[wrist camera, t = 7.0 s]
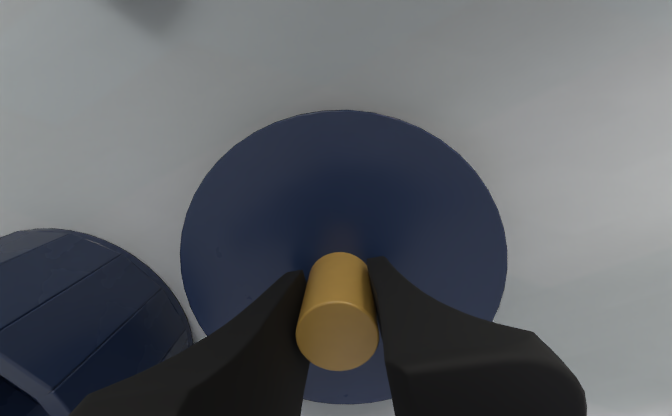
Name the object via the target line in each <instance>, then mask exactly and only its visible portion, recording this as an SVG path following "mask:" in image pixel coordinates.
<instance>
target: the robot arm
mask: <svg viewBox="0 0 672 416" xmlns="http://www.w3.org/2000/svg"><path fill="white" fill-rule="evenodd" d="M367 268H368V274H369V279H370V284H371V289H372V293H373V297H374V301H375V306H376V313H377V319H378V324H379V329H380V333H381V337H382V341H383V347H384V360H385V366H386V371H387V376H388V381H389V386H390V391H391V396H392V401H393V406H394V411H395V416H587V405H586V398H585V392H584V390H583V388H582V386H581V385H580V383H579V381H578V379H577V378H576V376H575V375H574V374H573V373H572V372H571V371H570V369H569V368H568V367H567V366H566V365H565V364H564V362H563V361H562V360H561V359H560V358H559V357H558V356H557V355H556V354H555V353H554V352H553V351H552V350H551V349H550V348H549V347H548V346H547V345H546V344H545V343H544V342H543V341H542V340H541V339H540V338H539V337H538V336H537V335H536V334H535V333H534V332H531V331H527V330H522V329H518V328H514V327H509V326H505V325H501V324H497V323H493V322H490V321H487V320H484V319H481V318H478V317H474V316H472V315H469V314H466V313H464V312H461V311H459V310H457V309H454V308H452V307H450V306H448V305H446V304H444V303H442V302H440V301H438V300H436V299H434V298H432V297H431V296H429V295H427V294H426V293H424V292H423V291H421V290H420V289H419V288H417V287H416V286H415V285H413V284H412V283H411V282H410V281H408V280H407V279H406V278H405V277H404V276H403V275H402V274H400V273H399V272H398V271H397V270H396V269H395V268H394V266H393V265H392V264H391V263H390V262H389V261H388V259H387V258H386V257H384V256H379V257H374V258H368V259H367ZM306 286H307V283H306V280H305V276H304V272H303V270H297V271H291V272H287V273H285V274H284V275H283V276H281V277H280V278H279V279H278V280H277V281H276V282H275V283H273V284H272V285H271V286H270V287H269V288H268V289H267V290H266V291H265V292H264V293H263V294H261V295H260V296H259V297H258V298H257V299H256V300H255V301H254V302H252V303H251V304H250V305H249V306H248V307H246V308H245V309H244V310H243V311H242V312H240V313H239V314H238V315H237V316H235V317H234V318H233V319H232V320H230V321H229V322H227V323H226V324H225V325H223V326H222V327H220V328H219V329H218V330H216V331H215V332H213V333H212V334H210V335H209V336H207V337H205V338H204V339H202V340H200V341H199V342H197V343H195V344H194V345H192V346H190V347H189V348H187V349H185V350H184V351H182V352H180V353H178V354H176V355H175V356H173V357H171V358H169V359H167V360H165V361H163V362H161V363H159V364H157V365H155V366H153V367H151V368H149V369H147V370H145V371H142V372H140V373H138V374H136V375H134V376H131V377H129V378H126V379H124V380H122V381H119V382H117V383H114V384H112V385H110V386H107V387H105V388H102V389H100V390H97V391H95V392H92V393H90V394H88V395H87V396H86V397H85V398H84V399H83V400H82V401H81V402H80V403H79V404H78V405H77V407H76V408H75V409H74V410H73V411H72V412H71V413H70V414H69V415H68V416H300V414H301V407H302V401H303V395H304V390H305V385H306V380H307V375H308V370H309V364H310V361H309V360H307V359H306V358H305V357H304V355H303V354H302V353H301V351H300V349H299V347H298V345H297V342H296V335H295V333H296V326H297V322H298V318H299V314H300V310H301V306H302V302H303V298H304V294H305V290H306Z"/></svg>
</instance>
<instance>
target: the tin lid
mask: <svg viewBox="0 0 672 416" xmlns="http://www.w3.org/2000/svg"><path fill="white" fill-rule="evenodd" d="M379 256H384V257H386V258H387V259H388V261H389V262H390V263H391V264H392V265H393V266H394V268H395V269H396V270H397V271H398V272H399V273H400V274H402V275H403V276H404V277H405V278H406V279H407V280H408V281H410V282H411V283H412V284H413V285H415V286H416V287H417V288H419V289H420V290H421V291H423V292H424V293H426V294H427V295H429V296H431V297H432V298H434V299H436V300H438V301H440V302H442V303H444V304H446V305H448V306H450V307H452V308H454V309H457V310H459V311H461V312H464V313H466V314H469V315H472V316H474V317H478V318H481V319H484V320H487V321H490V322H492V321H493V318H494V316H495V314H496V312H497V310H498V308H499V305H500V301H501V298H502V295H503V291H504V287H505V280H506V274H507V245H506V239H505V233H504V227H503V224H502V221H501V218H500V215H499V212H498V209H497V207H496V205H495V203H494V201H493V198H492V196H491V194H490V192H489V190H488V189H487V187H486V186H485V184H484V183H483V182H482V180H481V179H480V177H479V176H478V174H477V173H476V171H475V170H474V169H473V168H472V167H471V166H470V165H469V164H468V163H467V162H466V161H465V160H464V159H463V158H462V157H461V156H460V154H458V153H457V152H456V151H454V150H453V149H452V148H451V147H449V146H448V145H447V144H446V143H444V142H443V141H442V140H440V139H439V138H437V137H435V136H433V135H432V134H430V133H428V132H426V131H425V130H423V129H421V128H419V127H417V126H414V125H412V124H409V123H407V122H404V121H402V120H400V119H397V118H393V117H389V116H385V115H381V114H377V113H373V112H364V111H354V110H326V111H318V112H312V113H306V114H300V115H296V116H293V117H290V118H287V119H284V120H281V121H277V122H275V123H273V124H271V125H268V126H266V127H264V128H262V129H260V130H258V131H256V132H254V133H253V134H251V135H250V136H248V137H247V138H245V139H244V140H242V141H241V142H239V143H238V144H236V145H235V146H234V147H233V148H231V149H230V150H229V151H228V152H227V153H226V154H225V155H224V156H223V157H222V158H220V159H219V160H218V162H217V163H216V164H215V165H214V166H213V168H212V169H211V170H210V171H209V172H208V174H207V175H206V176H205V178H204V179H203V181H202V183H201V184H200V186H199V188H198V189H197V191H196V193H195V194H194V197H193V199H192V201H191V204H190V206H189V209H188V211H187V214H186V218H185V222H184V226H183V230H182V236H181V247H180V263H181V274H182V279H183V284H184V289H185V292H186V295H187V298H188V301H189V304H190V307H191V309H192V311H193V313H194V315H195V317H196V319H197V321H198V323H199V325H200V326H201V328H202V329H203V331H204V332H205V334H206V335H207V336H209V335H210V334H212V333H213V332H215V331H216V330H218V329H219V328H220V327H222V326H223V325H225V324H226V323H227V322H229V321H230V320H232V319H233V318H234V317H235V316H237V315H238V314H239V313H240V312H242V311H243V310H244V309H245V308H246V307H248V306H249V305H250V304H251V303H252V302H254V301H255V300H256V299H257V298H258V297H259V296H260V295H261V294H263V293H264V292H265V291H266V290H267V289H268V288H269V287H270V286H271V285H272V284H273V283H275V282H276V281H277V280H278V279H279V278H280V277H281V276H283V275H284V274H285V273H287V272H291V271H297V270H303V272H304V276H305V280H306V283H307V286H306V290H305V294H304V298H303V302H302V306H301V310H300V314H299V318H298V322H297V326H296V333H295V335H296V342H297V345H298V347H299V349H300V351H301V353H302V354H303V355H304V357H305V358H306V359H307V360H309V361H310V364H309V370H308V375H307V380H306V385H305V390H304V395H303V399H305V400H310V401H314V402H321V403H330V404H362V403H372V402H378V401H383V400H388V399H392V396H391V391H390V386H389V381H388V376H387V371H386V366H385V360H384V347H383V341H382V337H381V333H380V329H379V324H378V319H377V313H376V306H375V301H374V297H373V293H372V289H371V284H370V279H369V274H368V268H367V259H368V258H374V257H379Z"/></svg>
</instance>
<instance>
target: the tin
mask: <svg viewBox="0 0 672 416" xmlns="http://www.w3.org/2000/svg"><path fill="white" fill-rule="evenodd" d="M192 345H193V341H192V335H191V330H190V327H189V324H188V321H187V318H186V316H185V314H184V312H183V310H182V308H181V306H180V304H179V302H178V301H177V299H176V298H175V296H174V295H173V293H172V292H171V290H170V289H169V288H168V287H167V286H166V284H165V283H164V282H163V281H162V280H161V279H160V278H159V277H158V276H157V275H156V274H155V273H154V272H153V271H152V270H151V269H150V268H149V267H148V266H146V265H145V264H144V263H142V262H141V261H140V260H139V259H137V258H136V257H135V256H133V255H131V254H130V253H128V252H126V251H125V250H123V249H121V248H120V247H118V246H116V245H114V244H111V243H109V242H107V241H105V240H103V239H100V238H97V237H94V236H91V235H88V234H85V233H80V232H76V231H72V230H64V229H55V228H48V229H32V230H25V231H17V232H14V233H11V234H8V235H6V236H3V237H0V416H68V415H69V414H70V413H71V412H72V411H73V410H74V409H75V408H76V407H77V405H78V404H79V403H80V402H81V401H82V400H83V399H84V398H85V397H86V396H87V395H88V394H90V393H92V392H95V391H97V390H100V389H102V388H105V387H107V386H110V385H112V384H114V383H117V382H119V381H122V380H124V379H126V378H129V377H131V376H134V375H136V374H138V373H140V372H142V371H145V370H147V369H149V368H151V367H153V366H155V365H157V364H159V363H161V362H163V361H165V360H167V359H169V358H171V357H173V356H175V355H176V354H178V353H180V352H182V351H184V350H185V349H187V348H189V347H190V346H192Z"/></svg>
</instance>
